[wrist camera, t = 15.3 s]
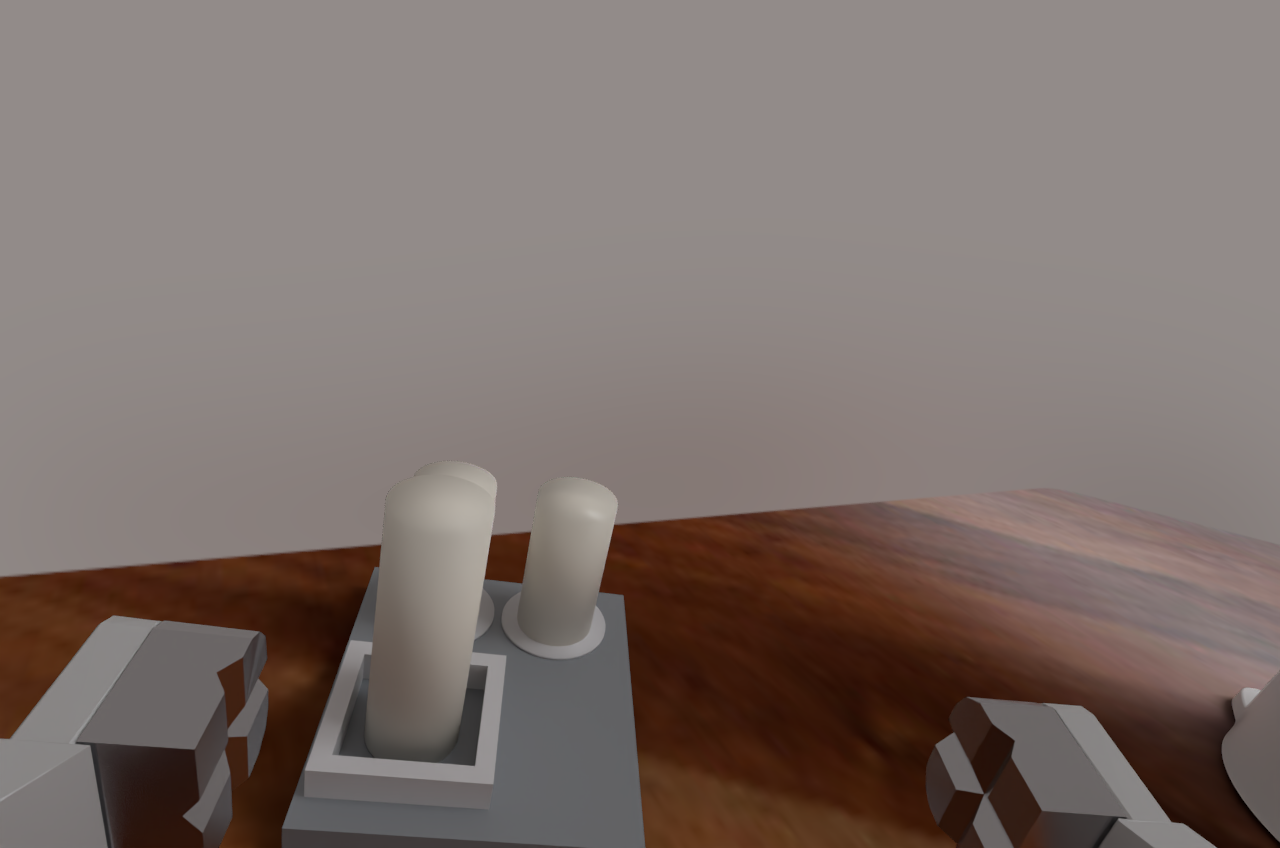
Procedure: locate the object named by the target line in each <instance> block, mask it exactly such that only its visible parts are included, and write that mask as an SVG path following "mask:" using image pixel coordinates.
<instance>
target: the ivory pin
mask: <svg viewBox="0 0 1280 848" xmlns="http://www.w3.org/2000/svg"><path fill="white" fill-rule="evenodd" d="M494 515H495V502H494V500H493V498H492V497H491V495H490V494H489V493H488V492H487V491H486V490H485V489H483V488H482V487H480V486H479V485H477V484H475V483H473V482H471V481H468V480H465V479H462V478H458V477H454V476H448V475H421V476H415V477H412V478H408V479H405V480H403V481H401V482H399V483H397V484H396V485H395V486H394V487H392V488H391V489H390V491H389V492H388V494H387V496H386V503H385V513H384V524H383V534H382V545H381V556H380V567H379V578H378V589H377V600H376V611H375V622H374V633H373V644H372V654H371V665H370V676H369V687H368V698H367V709H366V720H365V731H364V739H365V743H366V746H367V748H368V750H369V752H370V753H371V754H372V756H373V757H375V758H378V759H390V760H403V761H416V762H429V763H438V762H440V761H441V760H443V759H444V758H445V757H446V756H448V755H449V754H450V752H451V751H452V750H453V748H454V747H455V745H456V743H457V740H458V736H459V730H460V724H461V718H462V711H463V705H464V699H465V693H466V687H467V681H468V675H469V668H470V662H471V656H472V650H473V644H474V638H475V632H476V625H477V619H478V613H479V607H480V601H481V595H482V589H483V582H484V576H485V570H486V564H487V558H488V552H489V546H490V539H491V533H492V526H493V520H494Z"/></svg>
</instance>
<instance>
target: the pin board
mask: <svg viewBox="0 0 1280 848" xmlns="http://www.w3.org/2000/svg"><path fill="white" fill-rule="evenodd" d="M421 475H448V476H454V477H458V478H462V479H465V480H468V481H471V482H473V483H475V484H477V485H479V486H480V487H482V488H483V489H485V490H486V491H487V492H488V493H489V494H490V495H491V497H492V498H493V500H494V502H495V499H496V492H497V482H496V480H495V478H494V477H493V476H492V475H491V474H490V473H489V472H488V471H486V470H485V469H483V468H481V467H479V466H476V465H473V464H470V463H465V462H459V461H443V462H442V461H441V462H435V463H431V464H428V465H426V466H424V467H422V468H421V469H419V470H418V471H417V472H416V473H415V475H414V477H415V476H421ZM617 508H618V501H617V499H616V497H615V496H614V494H613V493H612V492H611V491H610V490H609V489H607V488H606V487H604V486H603V485H600V484H599V483H596V482H594V481H591V480H587V479H583V478H576V477H561V478H555V479H552V480H549V481H547V482H545V483H544V484H543V485H542V486H541V487H540V489H539V492H538V497H537V502H536V508H535V514H534V520H533V526H532V532H531V537H530V543H529V549H528V555H527V561H526V567H525V572H524V578H523V584H520V583H511V582H502V581H494V580H485V579H484V582H483V589H482V595H481V601H480V607H479V613H478V619H477V625H476V632H475V638H474V644H473V650H472V656H471V662H470V668H469V675H468V681H467V687H466V693H465V699H464V705H463V711H462V718H461V724H460V730H459V736H458V740H457V743H456V745H455V747H454V748H453V750H452V751H451V752H450V754H449V755H448V756H446V757H445V758H444V759H443V760H441V761H440V762H438V763H429V762H416V761H403V760H390V759H378V758H375V757H373V756H372V754H371V753H370V752H369V750H368V748H367V746H366V743H365V739H364V731H365V720H366V709H367V698H368V687H369V676H370V665H371V654H372V644H373V633H374V622H375V611H376V600H377V589H378V578H379V567H375V568H374V571H373V574H372V576H371V579H370V582H369V585H368V588H367V590H366V593H365V596H364V599H363V602H362V605H361V607H360V610H359V613H358V616H357V619H356V621H355V624H354V627H353V630H352V633H351V636H350V638H349V641H348V644H347V647H346V650H345V652H344V655H343V658H342V661H341V664H340V666H339V669H338V672H337V675H336V678H335V681H334V683H333V686H332V689H331V692H330V695H329V697H328V700H327V703H326V706H325V709H324V711H323V714H322V717H321V720H320V723H319V726H318V728H317V731H316V734H315V737H314V740H313V742H312V745H311V748H310V751H309V754H308V757H307V759H306V762H305V765H304V768H303V771H302V773H301V776H300V779H299V782H298V785H297V787H296V790H295V793H294V796H293V799H292V802H291V804H290V807H289V810H288V813H287V816H286V818H285V821H284V824H283V827H282V848H645V839H644V828H643V816H642V805H641V793H640V781H639V770H638V758H637V747H636V735H635V724H634V712H633V700H632V689H631V677H630V666H629V654H628V643H627V631H626V619H625V608H624V596H623V595H617V594H608V593H599V588H600V584H601V579H602V575H603V571H604V566H605V562H606V557H607V553H608V548H609V544H610V539H611V535H612V530H613V526H614V521H615V517H616V512H617Z"/></svg>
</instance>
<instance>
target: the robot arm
mask: <svg viewBox="0 0 1280 848" xmlns="http://www.w3.org/2000/svg"><path fill="white" fill-rule="evenodd" d="M266 660H267V650H266V636H265V635H264V634H262V633H261V632H258V631H250V630H241V629H233V628H224V627H216V626H207V625H198V624H190V623H181V622H173V621H163V622H162V621H154V620H146V619H138V618H130V617H122V616H112V617H110V618H109V619H107V620H105V621H104V622H102V623H101V624H99V625H98V626H97V627H96V629H95V630H94V631H93V633H92V634H91V635H90V636H89V638H88V639H87V640H86V642H85V643H84V644H83V645H82V647H81V648H80V649H79V651H78V652H77V653H76V654H75V656H74V657H73V658H72V660H71V661H70V662H69V663H68V665H67V666H66V667H65V669H64V670H63V671H62V672H61V674H60V675H59V676H58V678H57V679H56V680H55V681H54V683H53V684H52V685H51V687H50V688H49V689H48V690H47V692H46V693H45V694H44V696H43V697H42V698H41V699H40V701H39V702H38V703H37V705H36V706H35V707H34V708H33V710H32V711H31V712H30V714H29V715H28V716H27V717H26V719H25V720H24V721H23V723H22V724H21V725H20V726H19V728H18V729H17V730H16V732H15V733H14V734H13V735H12V737H11V738H10V739H0V848H219V846H220V844H221V842H222V839H223V837H224V835H225V832H226V830H227V828H228V826H229V823H230V821H231V819H232V796H231V791H233V790H234V789H235V788H237V787H238V786H239V785H241V784H242V783H243V782H245V781H246V780H247V779H249V776H250V774H251V771H252V769H253V767H254V764H255V762H256V759H257V757H258V754H259V750H260V747H261V743H262V739H263V735H264V732H265V728H266V721H267V712H268V689H267V688H266V686H265V685H264V684H263V683H262V682H261V681H260V680H259V679H258V677H259V675H260V673H261V671H262V669H263V667H264V664H265V662H266ZM1232 708H1233V713H1234V716H1235V720H1236V721H1235V724H1234V726H1233V727H1232V728H1231V729H1230V730H1229V731H1228V733H1227V734H1226V735H1225V737H1224V739H1223V742H1222V758H1223V762H1224V765H1225V768H1226V771H1227V773H1228V775H1229V778H1230V779H1231V781H1232V783H1233V785H1234V787H1235V788H1236V790H1237V792H1238V793H1239V795H1240V796H1241V798H1242V799H1243V801H1244V802H1245V803H1246V805H1247V806H1248V807H1249V809H1250V810H1251V811H1252V812H1253V814H1254V815H1255V816H1256V817H1257V818H1258V820H1259V821H1260V822H1261V823H1262V824H1263V825H1264V826H1265V827H1266V828H1267V830H1268V831H1269V832H1270V833H1271V834H1272V835H1273V836H1274V837H1275V838H1276V839H1277V840H1278V841H1279V842H1280V670H1279V671H1278V673H1277V674H1276V675H1275V676H1274V677H1273V678H1272V679H1271V680H1270V681H1269V682H1268V683H1267V684H1266V686H1265V687H1264V688H1263V689H1262V690H1258V689H1254V688H1243V689H1242V690H1241V691H1240V692H1239V693H1238V694H1237V695H1236V696H1235V697H1234V698H1233V699H1232ZM948 720H949V723H950V725H951V728H952V730H953V733H952V734H951V735H949V736H948V737H946V738H945V739H943V740H942V741H940V742H939V743H937V744H936V745H935V747H934V749H933V751H932V753H931V756H930V758H929V760H928V763H927V768H926V792H927V797H928V802H929V806H930V809H931V811H932V813H933V816H934V818H935V821H936V823H937V825H938V826H939V827H940V828H941V829H942V830H943V831H944V832H945V833H946V834H947V835H948V836H949V837H950V838H952V839H953V840H954V841H955V842H956V843H957V846H956V848H1217V847H1215V846H1214V845H1212V844H1211V843H1210V842H1208V841H1207V840H1206V839H1204V838H1203V837H1201V836H1200V835H1199V834H1197V833H1196V832H1195V831H1193V830H1192V829H1190V828H1189V827H1188V826H1186V825H1185V824H1182V823H1172V822H1171V821H1170V819H1169V818H1168V817H1167V815H1166V814H1165V812H1164V811H1163V810H1162V808H1161V807H1160V806H1159V804H1158V803H1157V801H1156V800H1155V799H1154V797H1153V796H1152V795H1151V793H1150V792H1149V790H1148V789H1147V788H1146V786H1145V785H1144V783H1143V782H1142V781H1141V779H1140V778H1139V777H1138V775H1137V774H1136V772H1135V771H1134V770H1133V768H1132V767H1131V766H1130V764H1129V763H1128V761H1127V760H1126V759H1125V757H1124V756H1123V754H1122V753H1121V752H1120V750H1119V749H1118V748H1117V746H1116V745H1115V743H1114V742H1113V741H1112V739H1111V738H1110V737H1109V735H1108V734H1107V732H1106V731H1105V730H1104V728H1103V727H1102V726H1101V724H1100V723H1099V721H1098V720H1097V719H1096V717H1095V716H1094V715H1093V714H1092V713H1090V712H1089V711H1088V710H1086V709H1085V708H1083V707H1082V706H1074V705H1062V704H1049V703H1042V704H1039V703H1034V702H1022V701H1010V700H998V699H986V698H973V697H965V698H964V699H962V700H961V701H960V702H958V703H957V704H956V705H955V707H954V709H953V711H952V713H951V715H950V717H949V719H948Z"/></svg>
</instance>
